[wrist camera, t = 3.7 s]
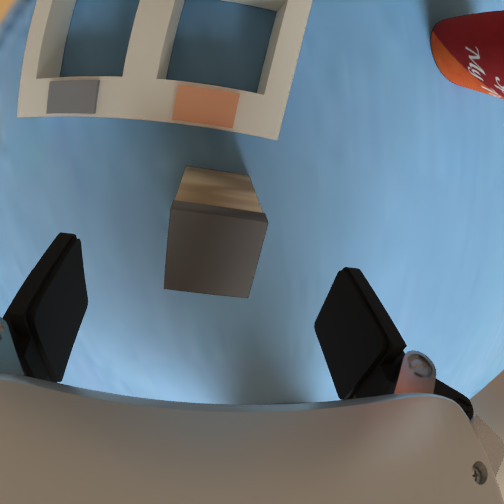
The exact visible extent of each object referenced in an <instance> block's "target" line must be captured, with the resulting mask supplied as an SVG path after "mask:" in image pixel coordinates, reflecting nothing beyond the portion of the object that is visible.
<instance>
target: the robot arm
mask: <svg viewBox="0 0 504 504" xmlns="http://www.w3.org/2000/svg"><path fill="white" fill-rule="evenodd" d="M87 305H88V297H87V290H86V283H85V276H84V268H83V259H82V249H81V241H80V239H77V238H76V235H75V234H69V233H59V234H58V235H57V237H56V238H55V239H54V241H53V242H52V244H51V245H50V246H49V248H48V249H47V250H46V252H45V253H44V255H43V256H42V257H41V259H40V260H39V262H38V263H37V265H36V266H35V267H34V269H33V270H32V271H31V273H30V274H29V276H28V277H27V279H26V280H25V282H24V283H23V285H22V286H21V288H20V290H19V291H18V293H17V294H16V296H15V298H14V299H13V301H12V303H11V304H10V306H9V308H8V309H7V311H6V313H5V315H4V316H3V318H1V317H0V504H504V502H503V499H502V495H501V492H500V489H499V486H498V483H497V480H496V478H495V477H496V474H497V472H498V470H499V467H500V465H501V462H502V459H503V457H504V443H503V441H502V440H501V438H500V437H499V436H498V435H497V434H496V433H495V432H494V431H493V430H492V429H491V428H490V427H489V426H488V425H486V423H484V422H483V420H482V419H480V418H479V417H478V416H477V415H474V416H473V407H472V405H471V402H470V400H469V399H468V398H467V397H465V396H464V395H463V394H461V393H459V392H458V391H456V390H454V389H453V388H451V387H449V386H448V385H446V384H444V383H443V382H441V381H439V380H437V379H436V369H435V366H434V364H433V362H432V361H431V360H430V359H429V358H428V357H427V356H426V355H425V354H423V353H421V352H418V351H408V352H407V353H406V354H405V353H404V351H403V350H404V348H405V347H406V346H407V345H406V344H405V342H404V340H403V338H402V337H401V335H400V333H399V332H398V330H397V328H396V326H395V325H394V323H393V321H392V320H391V318H390V316H389V315H388V313H387V311H386V310H385V308H384V307H383V305H382V303H381V302H380V300H379V299H378V297H377V295H376V294H375V292H374V291H373V289H372V287H371V286H370V284H369V283H368V281H367V280H366V278H365V277H364V275H363V273H362V272H361V270H360V269H357V268H349V267H345V268H343V269H342V270H341V271H339V272H338V273H337V276H336V278H335V280H334V282H333V285H332V287H331V289H330V291H329V293H328V295H327V298H326V300H325V302H324V304H323V306H322V308H321V310H320V312H319V314H318V317H317V319H316V321H315V326H314V327H315V332H316V335H317V337H318V340H319V343H320V346H321V348H322V351H323V354H324V357H325V360H326V362H327V365H328V368H329V371H330V374H331V377H332V379H333V382H334V385H335V388H336V391H337V394H338V397H339V398H340V399H341V400H339V401H329V402H316V403H300V404H276V405H227V404H203V403H188V402H175V401H164V400H155V399H146V398H138V397H131V396H124V395H118V394H112V393H106V392H100V391H95V390H89V389H84V388H79V387H74V386H69V385H64V384H60V383H57V381H58V382H61V381H62V379H63V376H64V372H65V369H66V366H67V363H68V359H69V356H70V353H71V350H72V347H73V344H74V342H75V339H76V336H77V333H78V330H79V328H80V325H81V322H82V319H83V317H84V314H85V312H86V309H87Z"/></svg>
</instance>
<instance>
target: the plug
mask: <svg viewBox="0 0 504 504" xmlns="http://www.w3.org/2000/svg"><path fill="white" fill-rule="evenodd" d="M267 226H268V220H267V218H266V215H265V213H263V211H262V209H261V206H260V203H259V201H258V198H257V195H256V193H255V190H254V187H253V185H252V182H251V179H250V177H249V176H248V175H242V174H236V173H230V172H224V171H217V170H211V169H204V168H197V167H189V166H186V168H185V171H184V174H183V176H182V179H181V182H180V186H179V189H178V192H177V195H176V198H175V200H173V203H172V206H171V210H170V219H169V229H168V240H167V251H166V264H165V279H164V289H170V290H178V291H186V292H194V293H203V294H212V295H221V296H231V297H241V298H248V297H249V293H250V290H251V286H252V282H253V279H254V275H255V271H256V267H257V264H258V260H259V256H260V253H261V249H262V245H263V241H264V238H265V234H266V230H267Z"/></svg>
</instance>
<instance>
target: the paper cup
mask: <svg viewBox="0 0 504 504" xmlns="http://www.w3.org/2000/svg"><path fill="white" fill-rule="evenodd" d="M431 50H432V54H433V58H434V60H435V63H436V65H437V67H438V68H439V70H440V72H441V73H442V74H443V75H444V76H445V77H446V78H447V79H448V80H449V81H451V82H452V83H454V84H457V85H460V86H463V87H466V88H469V89H473V90H476V91H479V92H483V93H486V94H489V95H492V96H496V97H499V98H502V99H504V10H503V11H492V12H484V13H476V14H470V15H463V16H458V17H453V18H449V19H445V20H442V21H440V22H438V23H437V24H436V25H435V27H434V28H433V30H432V34H431Z"/></svg>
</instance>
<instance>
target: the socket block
mask: <svg viewBox="0 0 504 504" xmlns="http://www.w3.org/2000/svg"><path fill="white" fill-rule="evenodd" d="M222 1H228V2H234V3H240V4H245V5H250V6H255V7H260V8H264V9H269V10H273V11H277V13H276V17H275V21H274V25H273V28H272V32H271V36H270V40H269V44H268V48H267V52H266V56H265V60H264V64H263V68H262V72H261V77H260V81H259V85H258V89H257V93H253V92H248V91H243V90H238V89H232V88H227V87H221V86H214V85H208V84H201V83H193V82H185V81H177V80H167V79H166V76H167V71H168V66H169V62H170V57H171V53H172V48H173V44H174V40H175V36H176V32H177V28H178V24H179V20H180V16H181V12H182V9H183V5H184V2H185V0H140V2H139V5H138V9H137V12H136V16H135V20H134V24H133V28H132V32H131V36H130V40H129V45H128V50H127V54H126V59H125V64H124V70H123V75H122V77H119V76H77V77H60V72H61V66H62V60H63V54H64V49H65V44H66V39H67V35H68V30H69V26H70V22H71V18H72V14H73V11H74V7H75V4H76V0H37V2H36V6H35V9H34V13H33V17H32V21H31V25H30V29H29V33H28V38H27V43H26V48H25V53H24V59H23V65H22V72H21V79H20V88H19V98H18V111H17V118H19V117H45V116H80V117H108V118H125V119H138V120H149V121H159V122H169V123H177V124H185V125H193V126H200V127H207V128H213V129H220V130H226V131H232V132H237V133H243V134H248V135H253V136H258V137H263V138H268V139H273V140H278V136H279V132H280V128H281V124H282V120H283V116H284V112H285V108H286V104H287V100H288V96H289V92H290V88H291V84H292V80H293V76H294V72H295V68H296V64H297V60H298V56H299V52H300V48H301V44H302V40H303V36H304V32H305V28H306V24H307V20H308V16H309V12H310V8H311V5H312V1H313V0H222Z"/></svg>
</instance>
